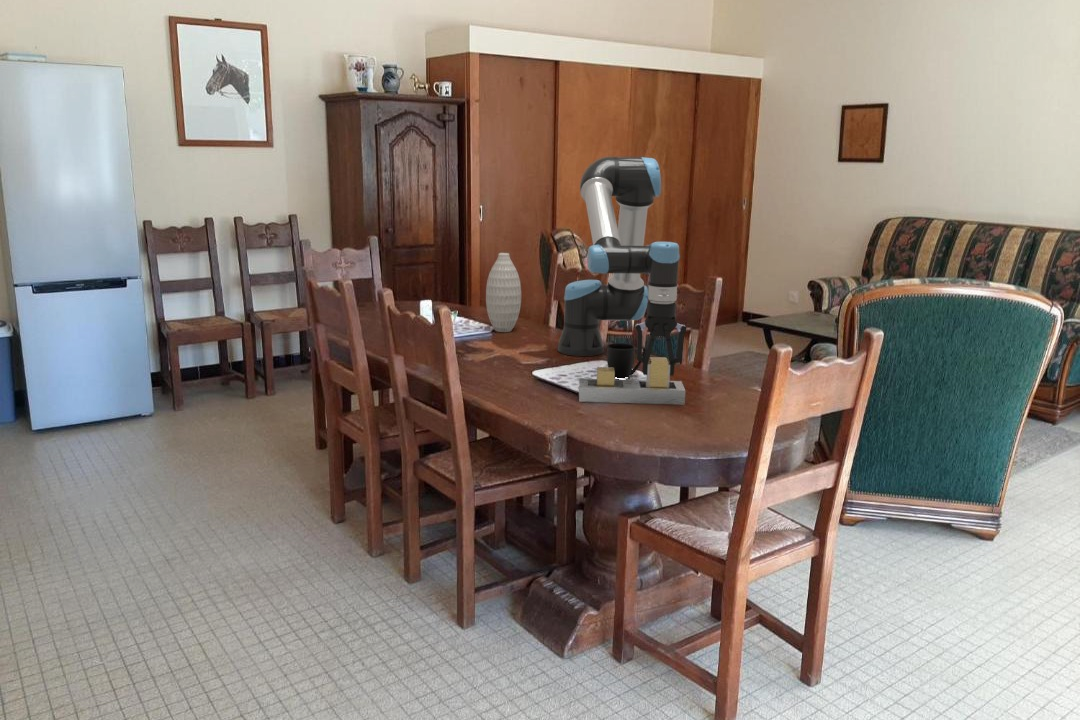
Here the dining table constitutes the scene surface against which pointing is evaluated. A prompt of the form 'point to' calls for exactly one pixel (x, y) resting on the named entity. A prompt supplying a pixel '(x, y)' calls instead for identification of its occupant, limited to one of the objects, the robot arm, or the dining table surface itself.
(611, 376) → the tan wooden brick
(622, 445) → the dining table surface
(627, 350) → the mug
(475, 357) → the dining table surface
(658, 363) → the yellow rectangular block
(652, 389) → the rail
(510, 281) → the vase
